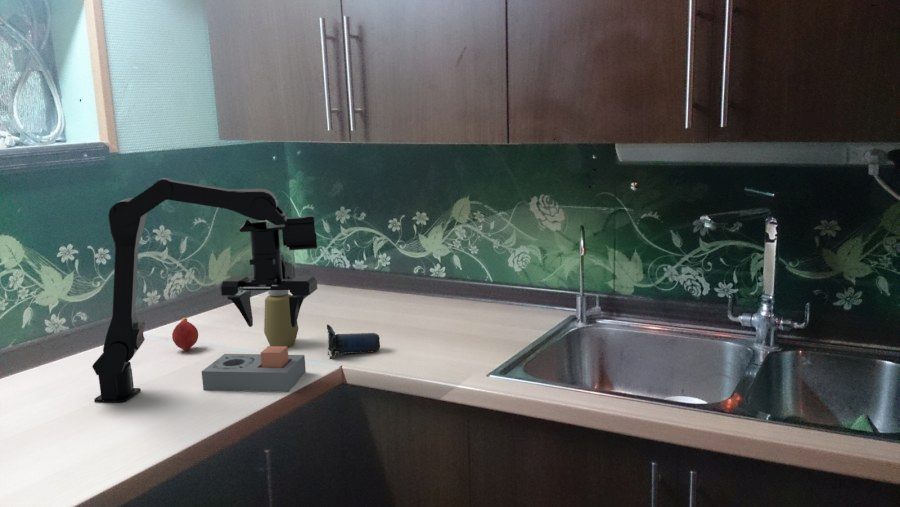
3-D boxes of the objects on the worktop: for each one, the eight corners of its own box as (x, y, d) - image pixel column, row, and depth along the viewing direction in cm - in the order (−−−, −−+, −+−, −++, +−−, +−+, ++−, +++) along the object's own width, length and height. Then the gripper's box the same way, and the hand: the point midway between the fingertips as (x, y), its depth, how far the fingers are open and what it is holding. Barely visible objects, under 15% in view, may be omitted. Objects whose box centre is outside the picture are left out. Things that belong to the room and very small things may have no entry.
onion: (191, 354, 176) (188, 322, 174) (169, 354, 177) (165, 321, 176) (204, 347, 182) (200, 315, 180) (182, 346, 183) (179, 314, 181)
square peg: (282, 385, 154) (280, 352, 153) (263, 385, 155) (260, 352, 154) (289, 378, 159) (287, 346, 157) (270, 377, 159) (268, 346, 158)
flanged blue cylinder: (329, 366, 169) (382, 362, 173) (330, 336, 166) (383, 332, 170) (324, 347, 177) (374, 344, 181) (324, 318, 174) (375, 315, 178)
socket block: (288, 391, 151) (286, 372, 150) (203, 389, 153) (201, 371, 152) (305, 372, 161) (304, 354, 161) (226, 371, 164) (224, 353, 163)
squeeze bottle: (258, 348, 179) (251, 274, 176) (280, 338, 186) (274, 267, 183) (284, 352, 176) (278, 277, 172) (306, 342, 183) (301, 269, 179)
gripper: (322, 244, 158) (327, 315, 161) (238, 245, 161) (244, 315, 164) (305, 254, 147) (311, 331, 150) (215, 255, 150) (222, 330, 153)
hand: (272, 326), depth 154 cm, fingers open, 9 cm apart
